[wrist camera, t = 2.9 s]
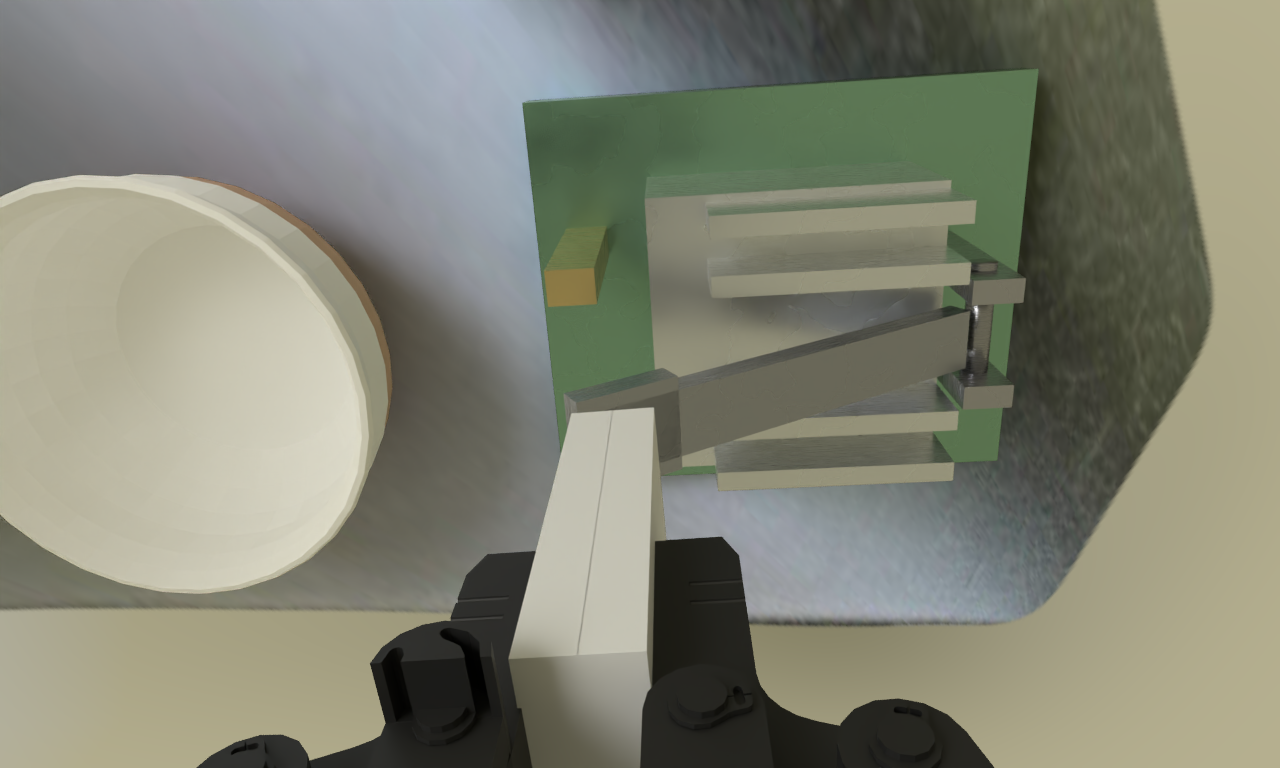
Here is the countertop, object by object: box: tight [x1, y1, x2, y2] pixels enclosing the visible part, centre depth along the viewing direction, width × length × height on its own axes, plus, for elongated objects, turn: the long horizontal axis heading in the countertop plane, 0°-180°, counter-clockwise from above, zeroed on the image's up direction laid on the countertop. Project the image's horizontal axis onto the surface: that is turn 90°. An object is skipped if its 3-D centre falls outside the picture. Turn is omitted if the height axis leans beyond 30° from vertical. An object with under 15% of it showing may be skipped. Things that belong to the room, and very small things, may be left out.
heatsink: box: [522, 68, 1039, 491], centre depth 31 cm, size 19×16×9 cm
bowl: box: [0, 174, 392, 594], centre depth 33 cm, size 16×16×8 cm
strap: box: [563, 306, 970, 476], centre depth 25 cm, size 14×3×1 cm
